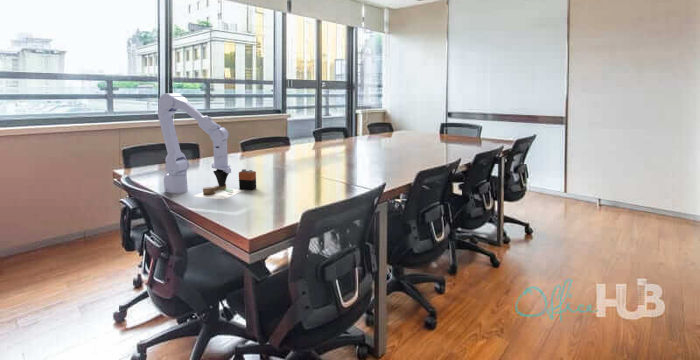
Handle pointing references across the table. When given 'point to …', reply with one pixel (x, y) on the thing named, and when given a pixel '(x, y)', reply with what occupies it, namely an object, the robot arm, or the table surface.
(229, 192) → the board
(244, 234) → the table surface
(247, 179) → the battery
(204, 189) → the dial
